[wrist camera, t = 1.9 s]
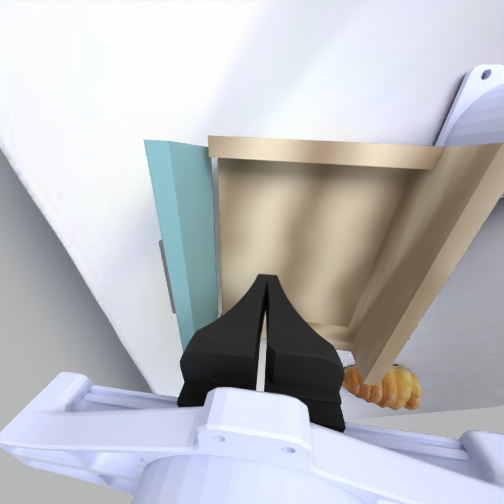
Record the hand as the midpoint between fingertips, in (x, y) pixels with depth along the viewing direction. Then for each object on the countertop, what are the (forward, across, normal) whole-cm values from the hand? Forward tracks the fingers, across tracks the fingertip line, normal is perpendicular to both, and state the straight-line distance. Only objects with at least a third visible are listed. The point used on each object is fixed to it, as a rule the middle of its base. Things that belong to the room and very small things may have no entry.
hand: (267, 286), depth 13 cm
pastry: (+8, -17, +21) cm, 28 cm away
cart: (+8, -3, 0) cm, 8 cm away
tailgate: (+5, +5, 0) cm, 7 cm away
